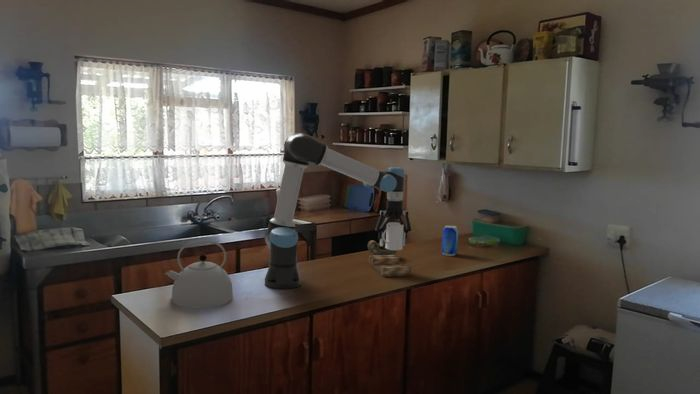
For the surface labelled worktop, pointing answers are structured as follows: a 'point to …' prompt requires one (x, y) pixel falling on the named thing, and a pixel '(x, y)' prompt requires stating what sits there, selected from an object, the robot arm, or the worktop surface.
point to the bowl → (379, 249)
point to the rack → (389, 266)
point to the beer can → (449, 240)
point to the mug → (394, 236)
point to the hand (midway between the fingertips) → (392, 245)
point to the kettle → (201, 283)
